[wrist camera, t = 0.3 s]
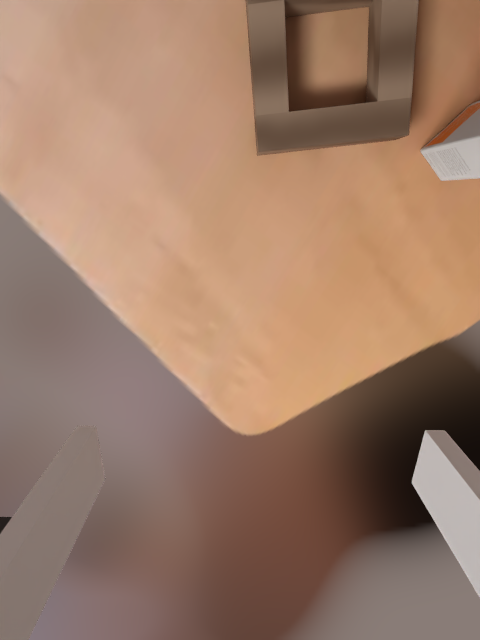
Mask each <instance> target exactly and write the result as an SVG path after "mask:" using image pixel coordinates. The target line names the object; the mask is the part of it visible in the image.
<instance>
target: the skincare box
mask: <svg viewBox="0 0 480 640" xmlns="http://www.w3.org/2000/svg"><path fill="white" fill-rule="evenodd" d="M421 153H422V154H423V156H424V157H425V158H426V160H427V161H428V163H429V164H430V165H431V167H432V168H433V170H434V171H435V173H436V174H437V176H438V177H439V179H440V180H441V181H446V180H460V179H476V178H480V101H477V102H475V103H472V104H470V105H469V106H468V107H467V108H466V109H465V110H464V111H463V112H462V113H461V114H460V115H458V116H457V117H456V118H455V119H454V120H453V121H452V122H451V123H450V124H449V125H448V126H447V127H446V128H444V129H443V130H442V131H441V132H440V133H439V134H438V135H437V136H436V137H434V138H433V139H432V140H431V141H430V142H429V143H428V144H426V145H425V146H424V147H423V148H422V149H421Z"/></svg>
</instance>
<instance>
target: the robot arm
mask: <svg viewBox="0 0 480 640" xmlns="http://www.w3.org/2000/svg"><path fill="white" fill-rule="evenodd" d="M104 481H105V473H104V468H103V462H102V456H101V451H100V445H99V439H98V433H97V428H96V426H77V427H76V428H75V429H74V431H73V432H72V434H71V435H70V436H69V438H68V439H67V441H66V442H65V443H64V445H63V446H62V448H61V449H60V451H59V452H58V453H57V455H56V456H55V458H54V459H53V460H52V462H51V463H50V465H49V466H48V467H47V469H46V470H45V472H44V473H43V475H42V476H41V477H40V479H39V480H38V482H37V483H36V484H35V486H34V487H33V489H32V490H31V491H30V493H29V494H28V496H27V497H26V498H25V500H24V501H23V503H22V504H21V505H20V507H19V508H18V510H17V511H16V513H15V514H14V515H13V517H0V640H28V639H29V638H30V635H31V633H32V631H33V629H34V627H35V625H36V623H37V621H38V619H39V617H40V615H41V613H42V610H43V608H44V606H45V604H46V602H47V600H48V598H49V596H50V593H51V592H52V589H53V587H54V585H55V583H56V581H57V579H58V577H59V575H60V573H61V571H62V569H63V567H64V564H65V562H66V560H67V558H68V556H69V554H70V552H71V550H72V548H73V546H74V543H75V541H76V539H77V537H78V535H79V533H80V531H81V529H82V527H83V524H84V523H85V521H86V518H87V516H88V514H89V512H90V510H91V508H92V506H93V504H94V502H95V499H96V497H97V495H98V493H99V491H100V489H101V487H102V485H103V483H104ZM412 484H413V486H414V487H415V489H416V491H417V492H418V494H419V496H420V498H421V499H422V501H423V503H424V504H425V506H426V508H427V509H428V511H429V513H430V514H431V516H432V518H433V520H434V521H435V523H436V525H437V526H438V528H439V530H440V531H441V533H442V535H443V537H444V538H445V540H446V542H447V543H448V545H449V547H450V548H451V550H452V552H453V553H454V555H455V557H456V559H457V560H458V562H459V564H460V565H461V567H462V569H463V570H464V572H465V574H466V575H467V577H468V579H469V580H470V582H471V584H472V586H473V587H474V589H475V591H476V592H477V594H478V596H479V597H480V471H479V470H478V469H477V468H476V467H475V465H474V464H473V463H472V462H471V461H470V460H469V458H468V457H467V456H466V455H465V454H464V452H462V450H461V449H460V448H459V447H458V446H457V444H456V443H455V442H454V441H453V440H452V439H451V438H450V436H449V435H448V434H447V433H446V432H445V431H444V430H425V433H424V437H423V441H422V445H421V449H420V452H419V456H418V461H417V464H416V468H415V472H414V475H413V479H412Z"/></svg>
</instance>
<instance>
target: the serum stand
mask: <svg viewBox="0 0 480 640" xmlns="http://www.w3.org/2000/svg"><path fill="white" fill-rule="evenodd" d="M418 2H419V0H246V11H247V24H248V38H249V51H250V65H251V78H252V92H253V105H254V119H255V132H256V146H257V156H258V155H267V154H276V153H284V152H293V151H302V150H311V149H320V148H329V147H338V146H347V145H356V144H364V143H373V142H382V141H391V140H396V139H399V138H402V137H405V136H408V135H409V127H410V113H411V99H412V85H413V71H414V57H415V44H416V30H417V16H418ZM361 7H369V28H368V61H367V93H366V103H360V104H351V105H343V106H334V107H326V108H317V109H309V110H300V111H291V112H289V103H288V79H287V55H286V31H285V17H291V16H299V15H307V14H315V13H322V12H330V11H338V10H346V9H353V8H361Z"/></svg>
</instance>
